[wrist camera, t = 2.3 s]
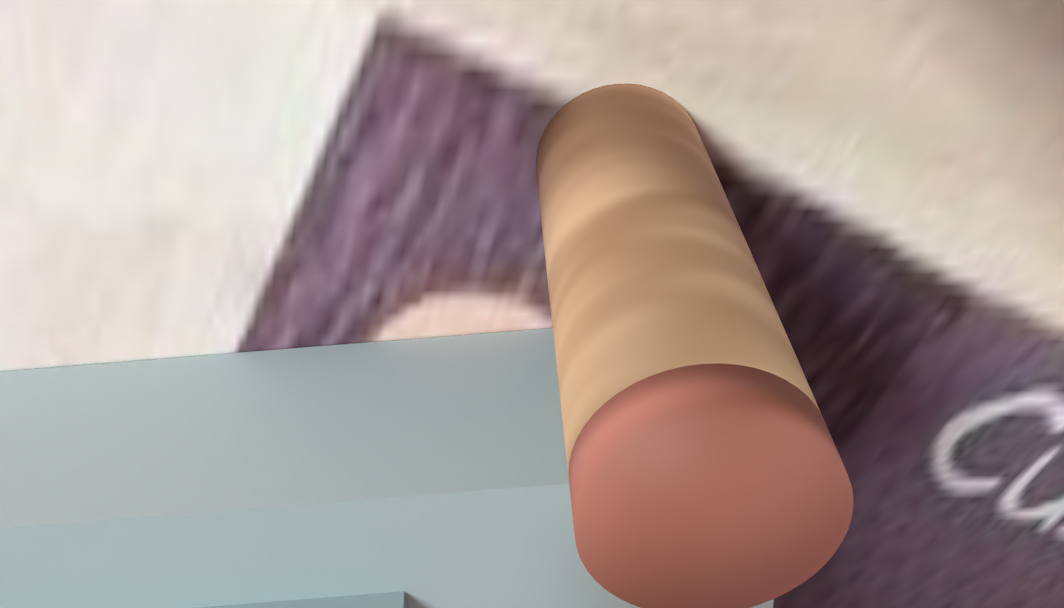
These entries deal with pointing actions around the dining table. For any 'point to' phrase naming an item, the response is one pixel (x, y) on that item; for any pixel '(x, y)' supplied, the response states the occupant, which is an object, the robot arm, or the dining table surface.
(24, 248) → the dining table surface
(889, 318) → the dining table surface
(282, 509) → the block
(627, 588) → the pin
